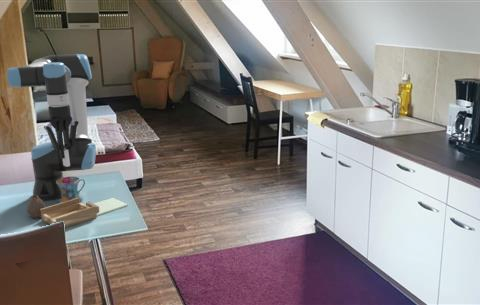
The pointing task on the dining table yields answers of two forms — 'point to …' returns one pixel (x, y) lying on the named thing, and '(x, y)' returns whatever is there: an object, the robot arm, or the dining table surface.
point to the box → (68, 213)
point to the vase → (35, 207)
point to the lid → (107, 205)
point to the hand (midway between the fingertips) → (66, 165)
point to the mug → (69, 188)
